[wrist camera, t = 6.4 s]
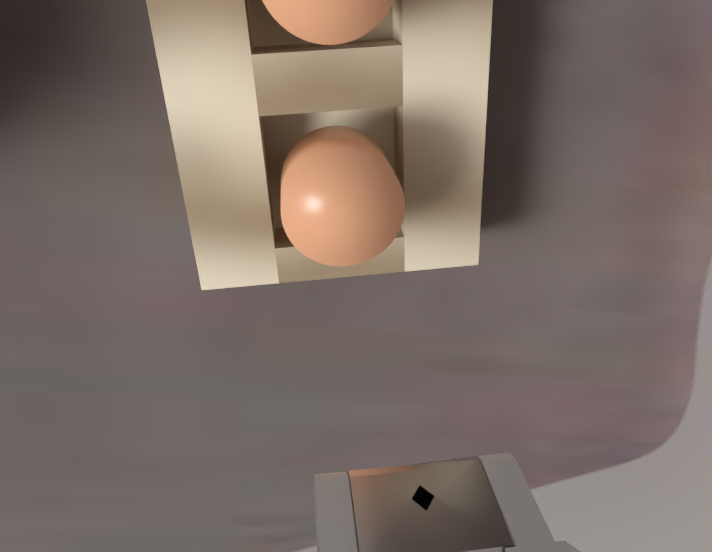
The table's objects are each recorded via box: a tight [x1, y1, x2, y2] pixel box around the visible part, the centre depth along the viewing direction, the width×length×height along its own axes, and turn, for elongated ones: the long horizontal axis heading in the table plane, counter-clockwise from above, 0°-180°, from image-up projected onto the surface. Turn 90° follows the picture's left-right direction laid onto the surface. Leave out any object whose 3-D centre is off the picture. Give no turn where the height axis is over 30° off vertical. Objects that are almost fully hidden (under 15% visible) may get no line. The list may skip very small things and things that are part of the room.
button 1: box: [281, 126, 405, 267], centre depth 20 cm, size 4×4×3 cm
